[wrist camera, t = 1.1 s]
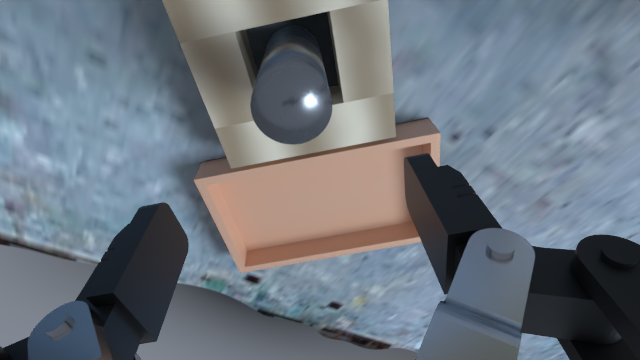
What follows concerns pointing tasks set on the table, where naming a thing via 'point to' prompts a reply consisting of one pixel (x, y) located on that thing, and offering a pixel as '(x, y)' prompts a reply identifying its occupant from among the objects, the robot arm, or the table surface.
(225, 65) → the block
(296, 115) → the steel pin
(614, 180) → the table surface
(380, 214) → the tray
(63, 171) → the table surface
